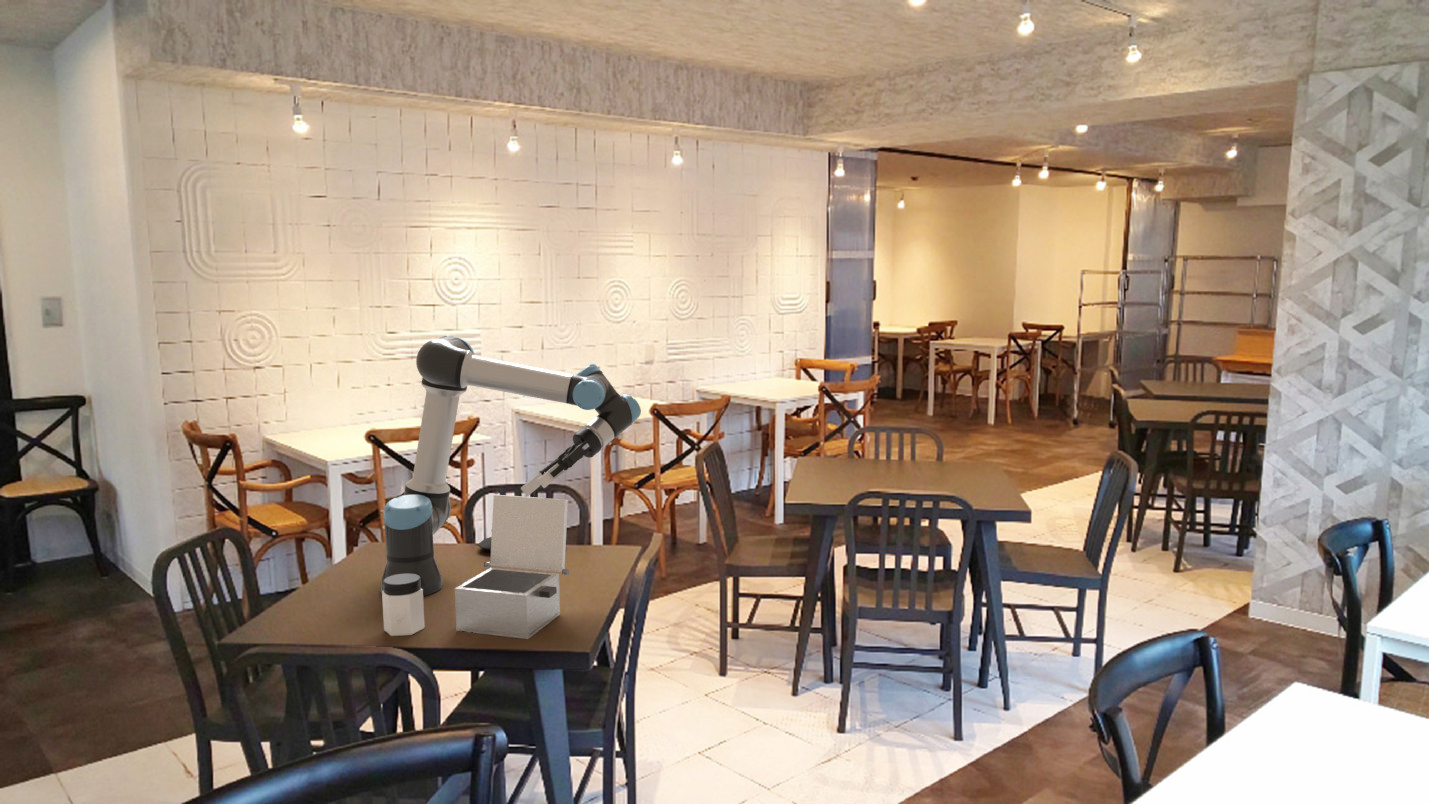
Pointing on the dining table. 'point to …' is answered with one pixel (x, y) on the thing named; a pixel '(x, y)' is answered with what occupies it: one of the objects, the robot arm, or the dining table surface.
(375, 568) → the dining table surface
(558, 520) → the lid
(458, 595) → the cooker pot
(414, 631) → the jar
